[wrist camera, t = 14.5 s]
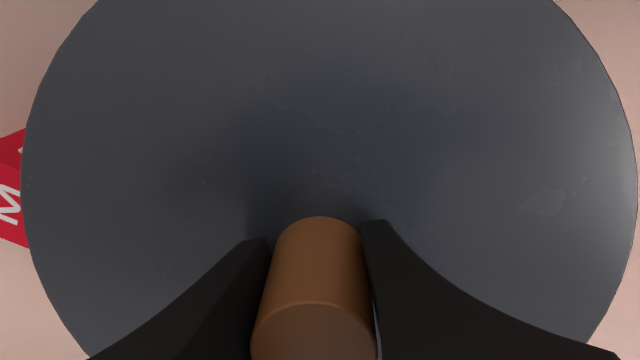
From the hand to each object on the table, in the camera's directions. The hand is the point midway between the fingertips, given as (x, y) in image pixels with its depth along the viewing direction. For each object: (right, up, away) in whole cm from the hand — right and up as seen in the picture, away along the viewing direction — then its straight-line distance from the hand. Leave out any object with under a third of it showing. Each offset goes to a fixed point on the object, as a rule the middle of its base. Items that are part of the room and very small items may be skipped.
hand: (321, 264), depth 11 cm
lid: (0, 0, +1) cm, 1 cm away
